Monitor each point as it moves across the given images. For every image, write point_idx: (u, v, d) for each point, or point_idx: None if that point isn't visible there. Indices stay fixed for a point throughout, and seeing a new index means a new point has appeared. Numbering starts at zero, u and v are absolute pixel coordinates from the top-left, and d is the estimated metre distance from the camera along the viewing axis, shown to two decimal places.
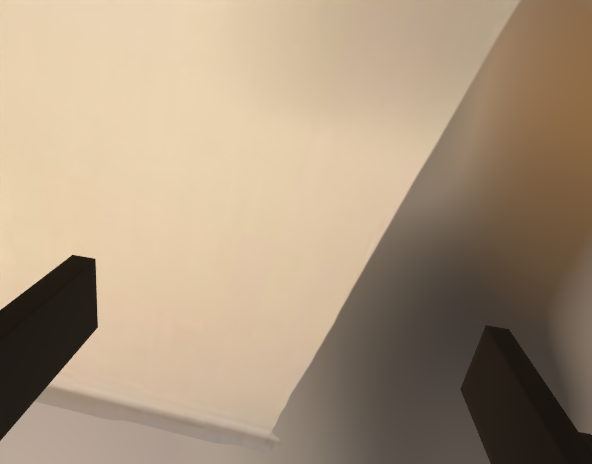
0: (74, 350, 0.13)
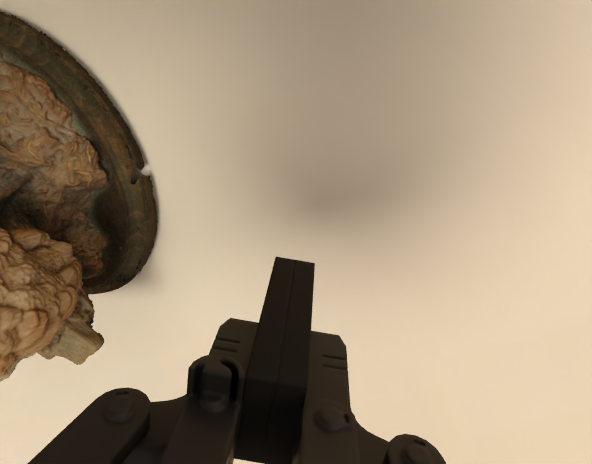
0: None
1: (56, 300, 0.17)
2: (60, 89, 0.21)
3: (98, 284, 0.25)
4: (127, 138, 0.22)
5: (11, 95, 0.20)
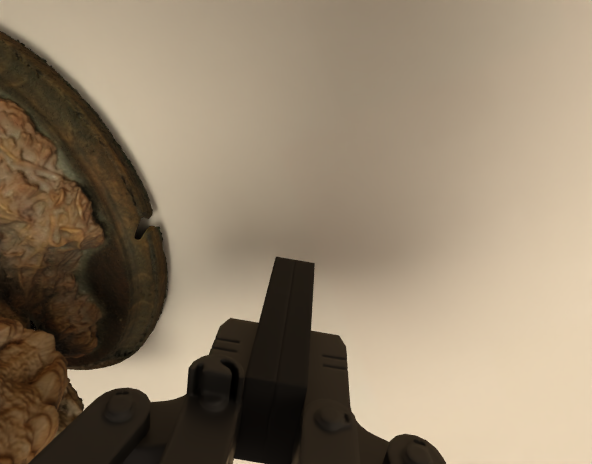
0: None
1: (26, 433, 0.12)
2: (41, 119, 0.15)
3: (91, 362, 0.19)
4: (130, 180, 0.17)
5: None
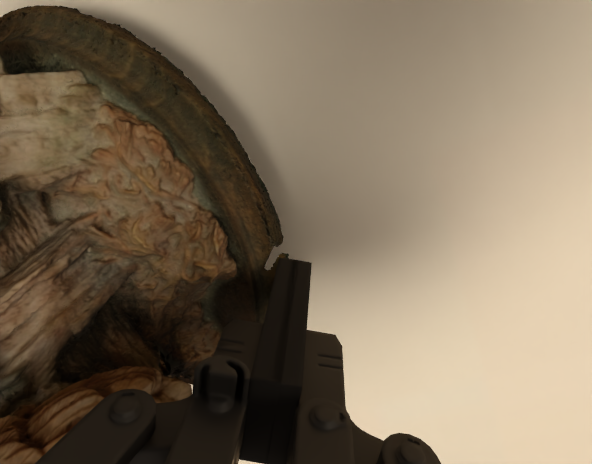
0: None
1: None
2: (180, 143, 0.14)
3: None
4: (265, 207, 0.15)
5: (112, 156, 0.13)
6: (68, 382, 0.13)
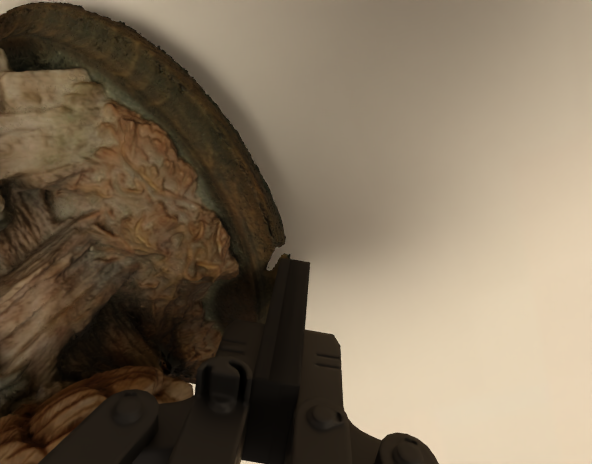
0: None
1: None
2: (184, 143, 0.14)
3: None
4: (268, 208, 0.15)
5: (116, 155, 0.13)
6: (70, 381, 0.13)
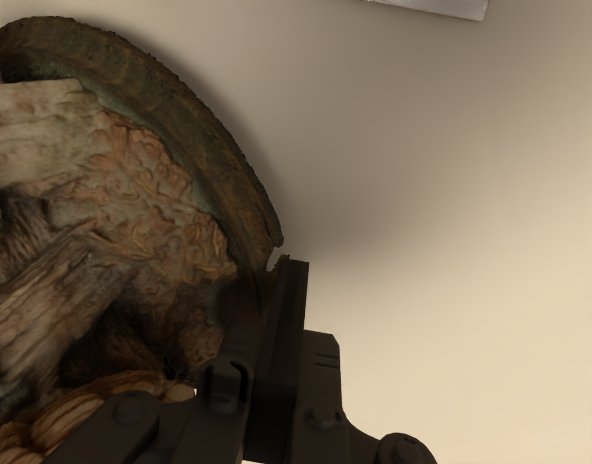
0: None
1: None
2: (177, 146, 0.14)
3: None
4: (264, 209, 0.15)
5: (110, 161, 0.13)
6: (72, 388, 0.13)
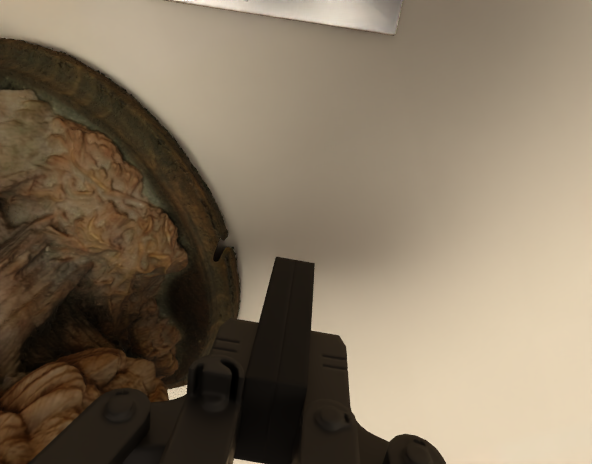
0: None
1: None
2: (128, 148, 0.15)
3: (168, 384, 0.19)
4: (209, 204, 0.17)
5: (66, 161, 0.14)
6: None
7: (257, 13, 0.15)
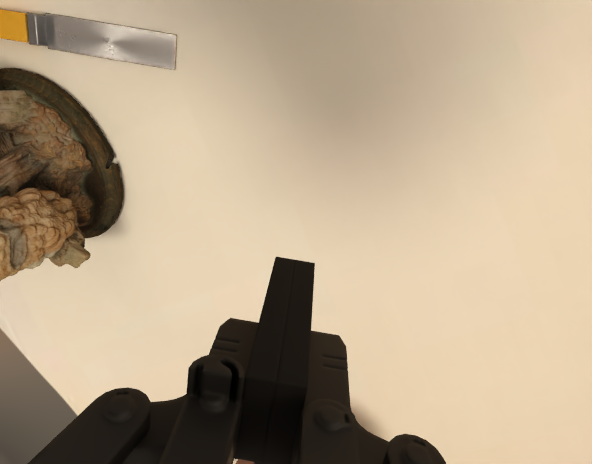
0: None
1: (63, 225, 0.33)
2: (64, 115, 0.37)
3: (88, 230, 0.41)
4: (102, 141, 0.39)
5: (37, 119, 0.36)
6: None
7: None
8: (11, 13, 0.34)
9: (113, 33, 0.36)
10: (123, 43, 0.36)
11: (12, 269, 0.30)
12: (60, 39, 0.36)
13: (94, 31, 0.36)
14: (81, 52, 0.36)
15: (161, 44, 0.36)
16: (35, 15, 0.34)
